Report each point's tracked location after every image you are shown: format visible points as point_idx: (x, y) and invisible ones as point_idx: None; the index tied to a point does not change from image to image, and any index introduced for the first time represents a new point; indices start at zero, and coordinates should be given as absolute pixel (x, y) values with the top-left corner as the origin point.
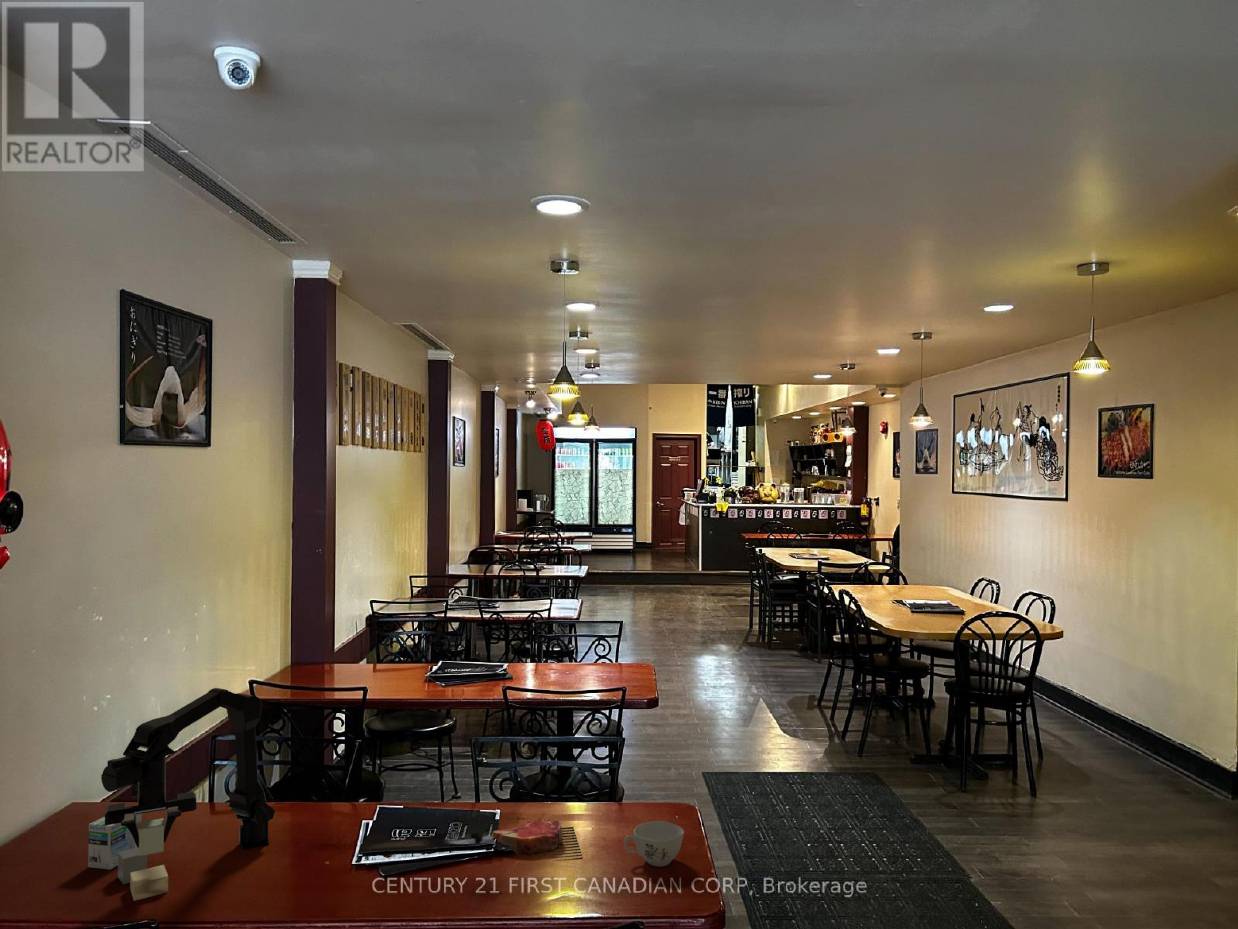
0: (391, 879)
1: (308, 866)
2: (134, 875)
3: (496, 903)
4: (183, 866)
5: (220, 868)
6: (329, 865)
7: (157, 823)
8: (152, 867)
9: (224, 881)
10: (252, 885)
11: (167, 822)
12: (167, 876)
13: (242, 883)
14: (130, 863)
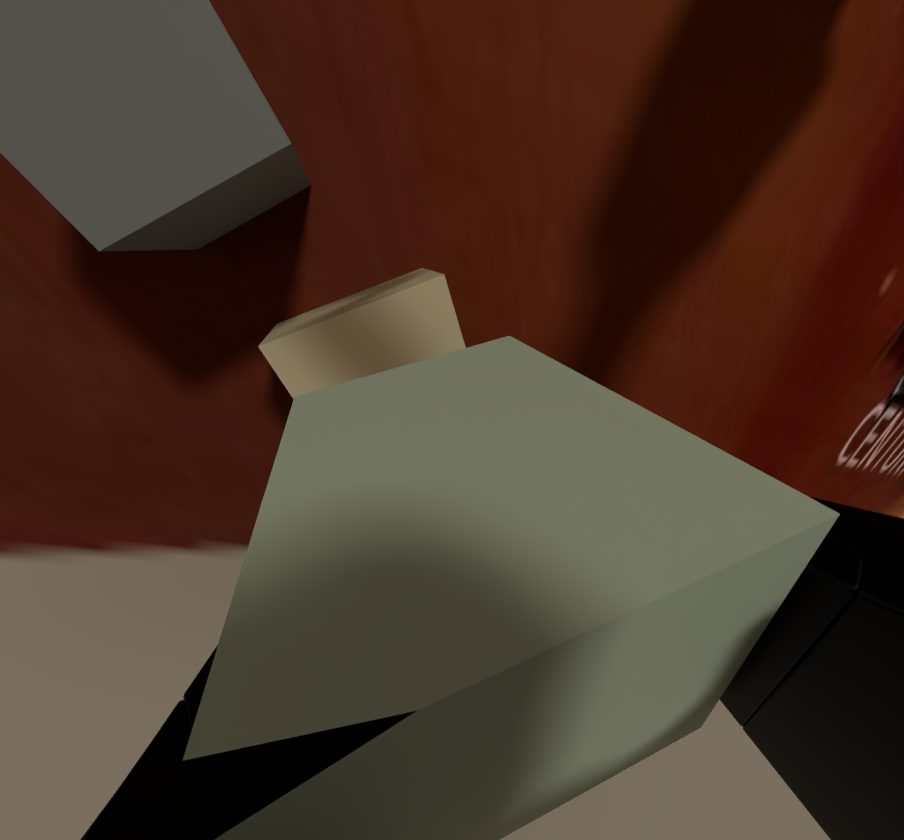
0: (885, 417)
1: (843, 298)
2: (308, 391)
3: (893, 505)
4: (493, 71)
5: (647, 202)
6: (875, 308)
7: (656, 722)
8: (383, 299)
9: (636, 346)
10: (691, 394)
11: (783, 755)
12: None
13: (674, 374)
14: (183, 225)
